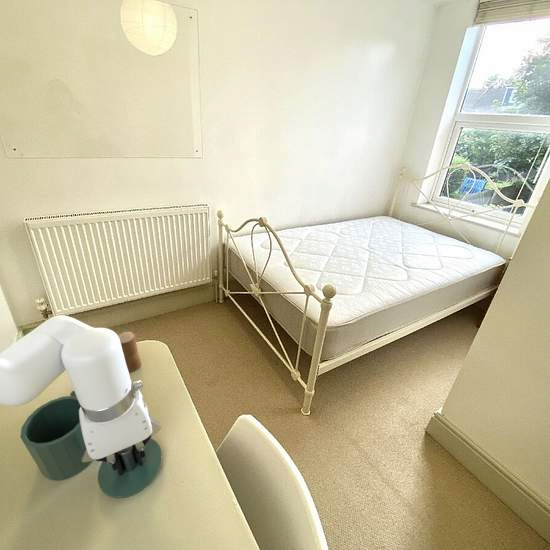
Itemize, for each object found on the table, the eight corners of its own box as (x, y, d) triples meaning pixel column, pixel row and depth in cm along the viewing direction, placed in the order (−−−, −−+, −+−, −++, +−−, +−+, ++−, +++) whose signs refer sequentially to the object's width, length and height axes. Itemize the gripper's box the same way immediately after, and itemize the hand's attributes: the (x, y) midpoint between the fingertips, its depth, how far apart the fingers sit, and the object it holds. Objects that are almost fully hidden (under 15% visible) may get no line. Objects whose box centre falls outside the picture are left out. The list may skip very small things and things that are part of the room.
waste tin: (38, 491, 55) (17, 457, 50) (42, 442, 63) (24, 409, 58) (103, 463, 60) (89, 429, 55) (99, 421, 68) (86, 388, 63)
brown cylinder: (124, 374, 80) (116, 345, 75) (122, 363, 83) (114, 334, 78) (142, 368, 82) (135, 339, 77) (139, 358, 85) (132, 329, 80)
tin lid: (101, 513, 53) (91, 492, 49) (97, 456, 61) (88, 434, 58) (168, 479, 58) (163, 458, 54) (156, 430, 66) (151, 410, 63)
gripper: (156, 365, 56) (169, 428, 65) (49, 401, 49) (81, 466, 58) (165, 395, 51) (178, 459, 59) (46, 440, 43) (82, 506, 52)
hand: (130, 462), depth 59 cm, fingers closed on tin lid, 2 cm apart
